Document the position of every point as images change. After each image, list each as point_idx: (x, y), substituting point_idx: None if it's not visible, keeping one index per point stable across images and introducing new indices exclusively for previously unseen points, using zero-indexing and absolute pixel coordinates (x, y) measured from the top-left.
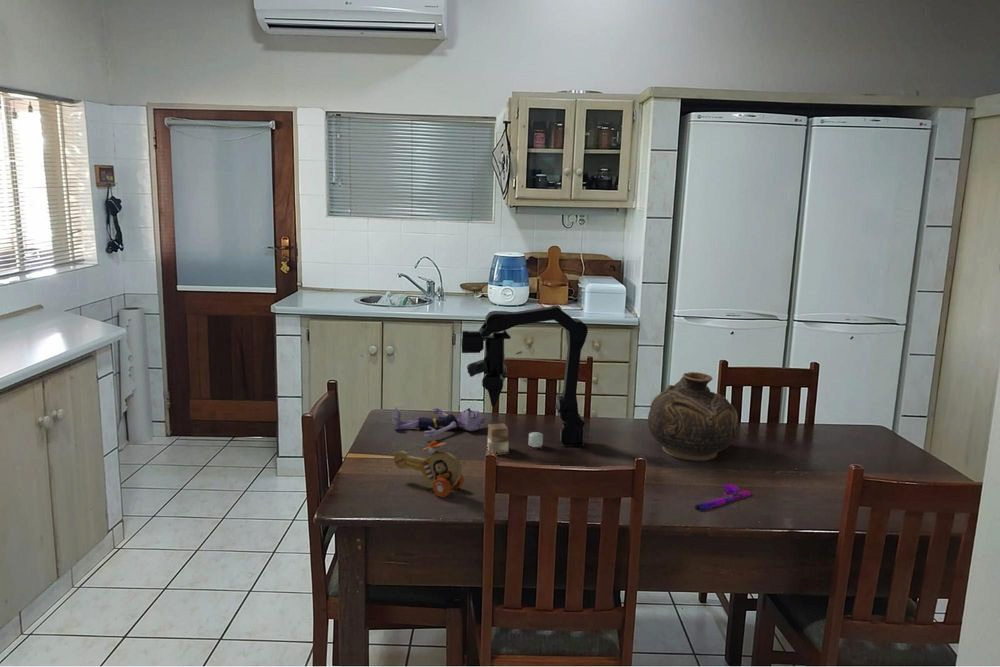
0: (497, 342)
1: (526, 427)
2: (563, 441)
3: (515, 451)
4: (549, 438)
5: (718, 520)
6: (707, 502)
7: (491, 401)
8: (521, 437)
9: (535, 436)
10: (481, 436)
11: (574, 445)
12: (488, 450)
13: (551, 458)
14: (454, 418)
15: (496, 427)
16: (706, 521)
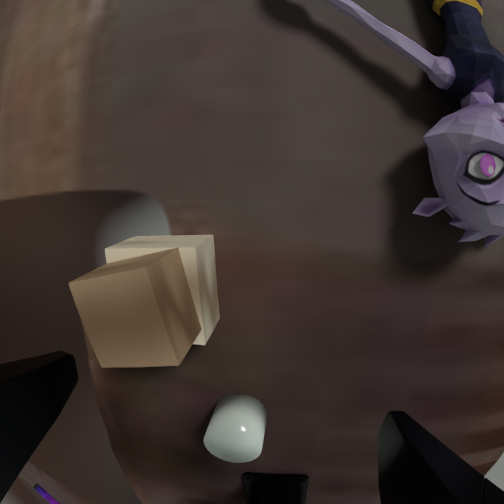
0: None
1: (453, 393)
2: (258, 481)
3: None
4: (327, 453)
5: (27, 482)
6: (45, 498)
7: (20, 367)
8: (348, 381)
9: (207, 440)
10: (372, 210)
11: (245, 490)
12: (125, 240)
13: (142, 425)
14: (474, 73)
15: (101, 312)
16: (19, 473)
